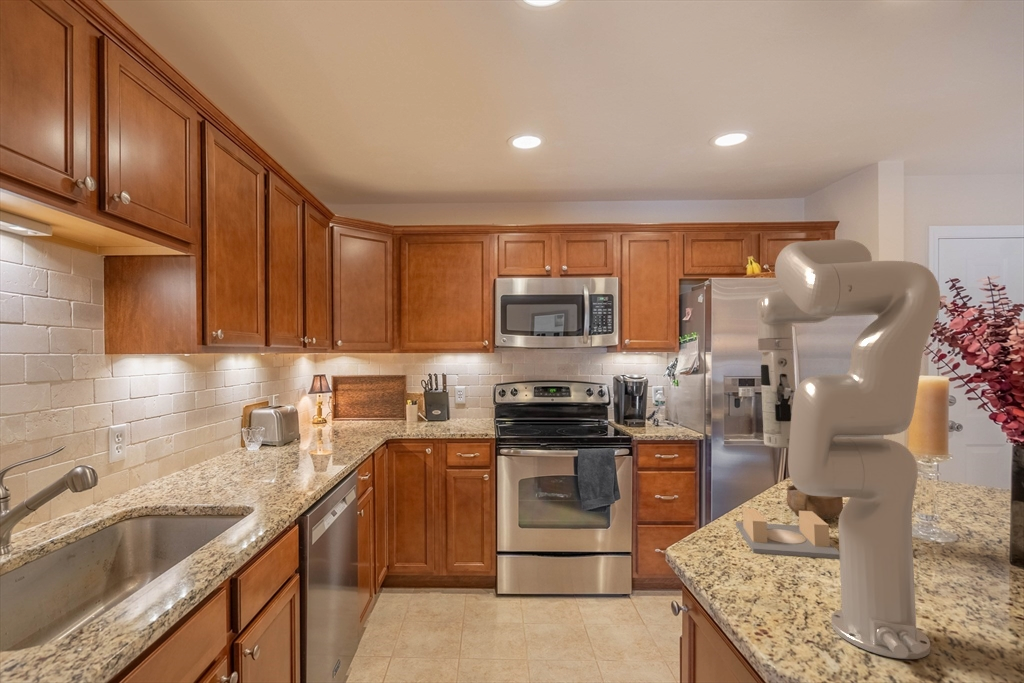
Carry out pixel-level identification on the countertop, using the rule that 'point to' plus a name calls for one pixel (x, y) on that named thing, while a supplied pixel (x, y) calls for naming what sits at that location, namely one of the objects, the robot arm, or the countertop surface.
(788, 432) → the spray can
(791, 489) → the bowl
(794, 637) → the countertop surface
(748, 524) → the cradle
